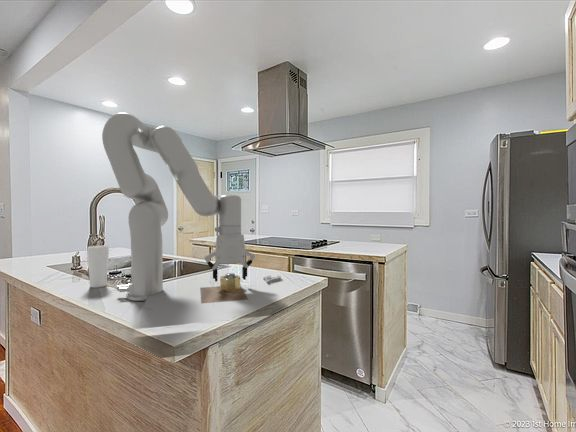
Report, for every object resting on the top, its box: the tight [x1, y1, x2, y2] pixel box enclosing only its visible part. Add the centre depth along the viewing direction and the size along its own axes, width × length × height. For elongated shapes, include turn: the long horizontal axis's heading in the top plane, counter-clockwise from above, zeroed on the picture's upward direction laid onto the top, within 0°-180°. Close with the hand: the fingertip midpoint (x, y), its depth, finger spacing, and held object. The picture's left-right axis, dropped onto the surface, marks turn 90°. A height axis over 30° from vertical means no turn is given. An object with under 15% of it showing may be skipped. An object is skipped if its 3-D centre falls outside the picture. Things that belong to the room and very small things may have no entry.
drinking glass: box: [86, 244, 110, 289], centre depth 113 cm, size 7×7×15 cm
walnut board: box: [200, 285, 249, 304], centre depth 100 cm, size 14×18×2 cm
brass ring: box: [219, 274, 241, 291], centre depth 106 cm, size 7×7×4 cm
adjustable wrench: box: [263, 275, 282, 285], centre depth 117 cm, size 25×6×2 cm, turn 154°
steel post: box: [225, 272, 236, 279], centre depth 106 cm, size 3×3×5 cm
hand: (230, 279), depth 106 cm, fingers open, 9 cm apart
